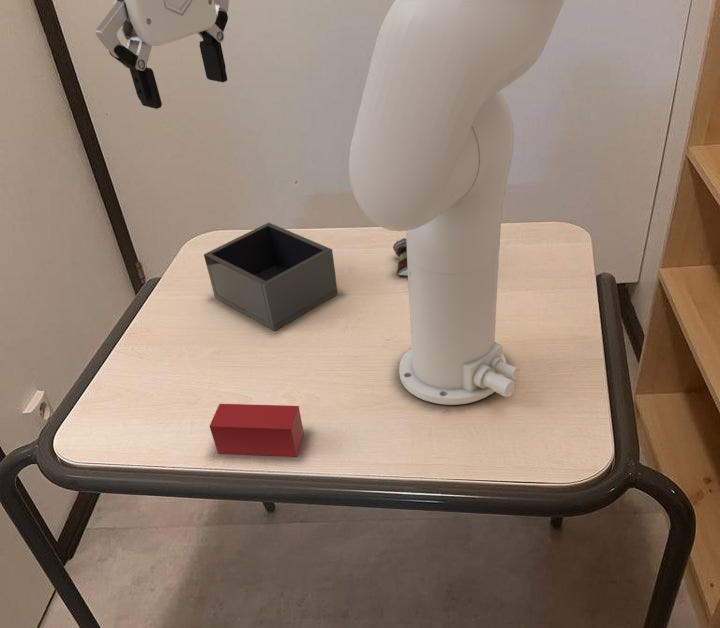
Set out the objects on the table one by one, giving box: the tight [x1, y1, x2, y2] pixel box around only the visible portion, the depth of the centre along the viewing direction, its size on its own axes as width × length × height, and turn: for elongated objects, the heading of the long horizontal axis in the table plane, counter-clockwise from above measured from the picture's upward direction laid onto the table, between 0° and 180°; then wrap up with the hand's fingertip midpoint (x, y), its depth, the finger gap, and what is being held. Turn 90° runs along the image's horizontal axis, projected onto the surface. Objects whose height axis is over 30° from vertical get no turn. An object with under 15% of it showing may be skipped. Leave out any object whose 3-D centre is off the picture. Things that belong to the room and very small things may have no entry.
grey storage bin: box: [203, 222, 339, 332], centre depth 99 cm, size 14×12×7 cm
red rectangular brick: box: [209, 403, 305, 458], centre depth 78 cm, size 9×4×4 cm, turn 81°
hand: (185, 93), depth 84 cm, fingers open, 9 cm apart
